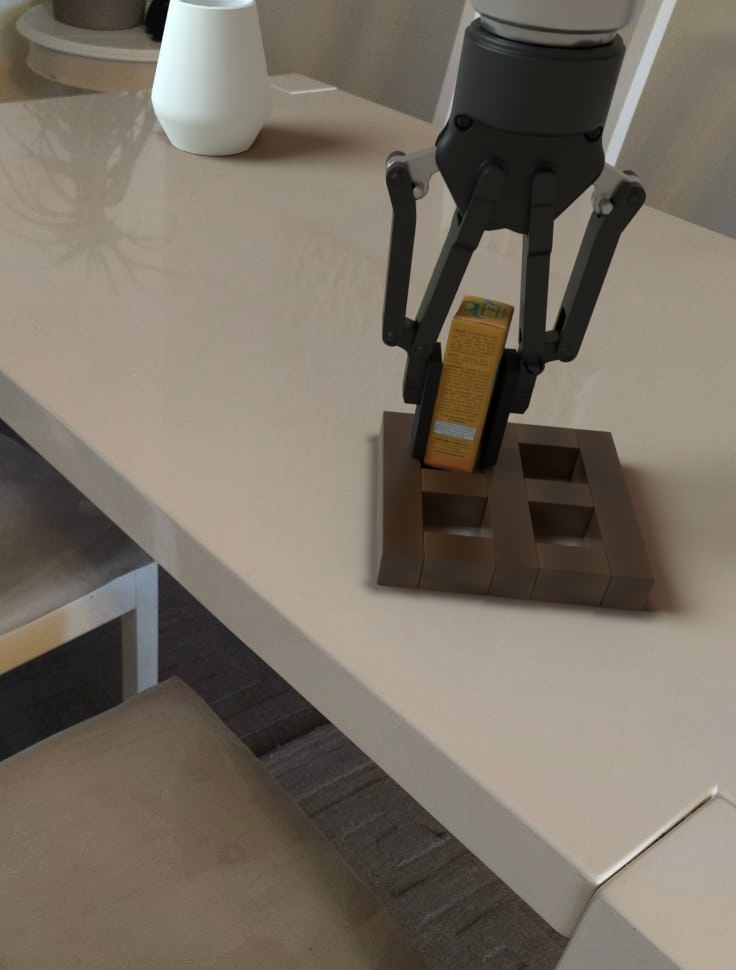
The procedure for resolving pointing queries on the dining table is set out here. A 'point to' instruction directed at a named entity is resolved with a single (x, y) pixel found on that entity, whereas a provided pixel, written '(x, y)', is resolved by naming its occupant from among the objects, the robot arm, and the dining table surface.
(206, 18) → the white vase
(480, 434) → the supplement box
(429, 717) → the dining table surface
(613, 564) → the socket block
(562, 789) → the dining table surface
